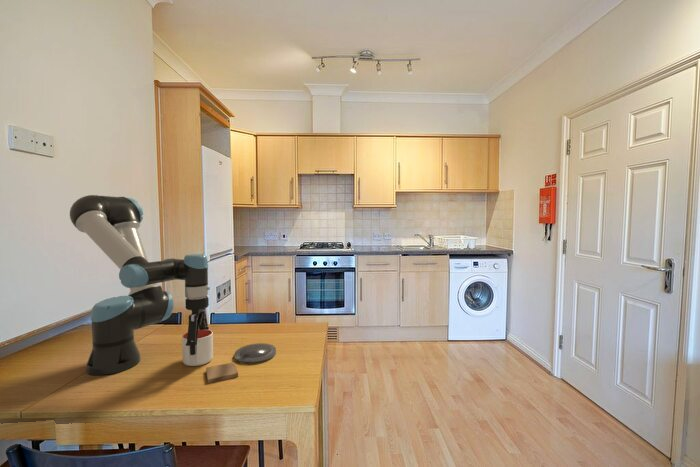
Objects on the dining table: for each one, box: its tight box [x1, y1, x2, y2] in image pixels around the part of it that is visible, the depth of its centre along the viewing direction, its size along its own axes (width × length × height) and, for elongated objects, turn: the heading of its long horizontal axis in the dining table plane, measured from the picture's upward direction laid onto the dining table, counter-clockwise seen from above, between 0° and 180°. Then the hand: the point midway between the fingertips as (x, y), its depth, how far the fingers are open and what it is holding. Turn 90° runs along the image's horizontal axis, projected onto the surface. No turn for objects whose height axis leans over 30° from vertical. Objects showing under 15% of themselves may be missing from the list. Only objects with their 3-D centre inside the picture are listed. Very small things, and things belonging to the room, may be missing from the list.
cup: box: [181, 329, 214, 367], centre depth 114 cm, size 10×10×10 cm
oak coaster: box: [205, 362, 239, 384], centre depth 105 cm, size 9×9×1 cm
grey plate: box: [234, 342, 277, 365], centre depth 120 cm, size 15×15×2 cm
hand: (198, 355), depth 114 cm, fingers open, 13 cm apart
